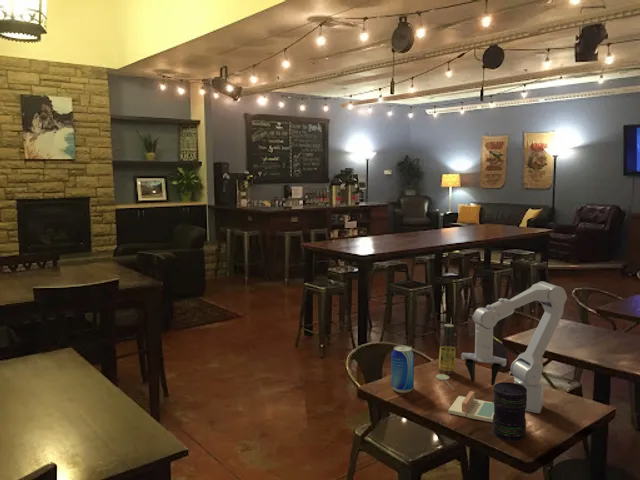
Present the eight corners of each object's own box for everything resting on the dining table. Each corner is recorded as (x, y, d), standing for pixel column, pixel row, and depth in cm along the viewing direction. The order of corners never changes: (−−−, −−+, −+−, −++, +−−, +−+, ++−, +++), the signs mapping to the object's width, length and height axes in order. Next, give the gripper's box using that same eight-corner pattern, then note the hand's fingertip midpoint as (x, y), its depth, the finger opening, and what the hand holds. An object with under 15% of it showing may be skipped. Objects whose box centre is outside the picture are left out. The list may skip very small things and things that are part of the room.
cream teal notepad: (502, 407, 193) (502, 404, 193) (494, 422, 182) (494, 419, 182) (476, 402, 198) (476, 399, 198) (466, 417, 187) (467, 413, 186)
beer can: (418, 390, 210) (418, 349, 207) (401, 395, 205) (402, 353, 203) (403, 383, 216) (403, 343, 214) (386, 388, 212) (386, 347, 210)
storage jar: (504, 423, 182) (506, 379, 180) (532, 435, 174) (533, 389, 172) (485, 432, 176) (487, 387, 174) (513, 445, 168) (514, 397, 166)
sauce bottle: (439, 375, 224) (439, 327, 221) (438, 369, 230) (439, 322, 227) (455, 375, 223) (456, 327, 220) (454, 370, 229) (455, 323, 226)
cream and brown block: (475, 402, 198) (475, 390, 197) (466, 416, 187) (466, 404, 186) (458, 399, 201) (458, 387, 200) (448, 413, 190) (448, 401, 189)
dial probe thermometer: (447, 389, 209) (434, 374, 223) (447, 391, 209) (434, 376, 224) (460, 388, 209) (446, 373, 224) (460, 391, 210) (446, 375, 224)
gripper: (459, 344, 187) (458, 382, 189) (503, 350, 180) (502, 390, 182) (464, 338, 193) (463, 375, 195) (508, 344, 186) (506, 383, 188)
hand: (482, 382), depth 189 cm, fingers open, 6 cm apart
